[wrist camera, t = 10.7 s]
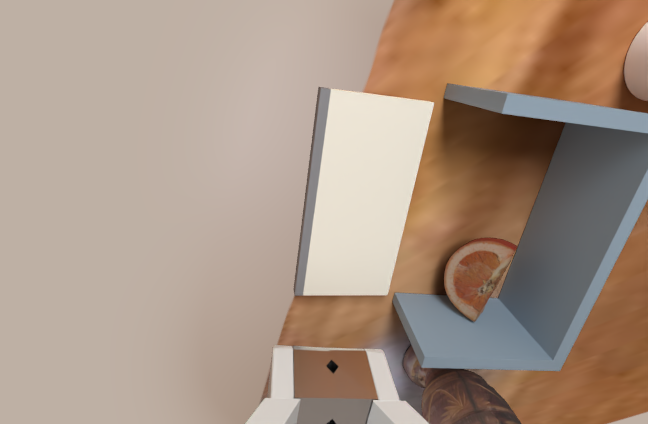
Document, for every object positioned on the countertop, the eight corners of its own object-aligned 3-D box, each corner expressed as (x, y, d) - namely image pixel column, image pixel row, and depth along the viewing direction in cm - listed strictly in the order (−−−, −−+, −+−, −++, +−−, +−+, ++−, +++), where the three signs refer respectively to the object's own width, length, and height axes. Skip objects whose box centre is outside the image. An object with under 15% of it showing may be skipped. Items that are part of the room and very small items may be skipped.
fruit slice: (477, 298, 40) (502, 329, 35) (423, 286, 39) (441, 317, 34) (513, 232, 37) (545, 257, 33) (456, 217, 36) (481, 240, 31)
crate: (447, 83, 30) (507, 93, 22) (585, 103, 32) (688, 119, 24) (392, 301, 39) (421, 367, 31) (504, 307, 41) (559, 370, 33)
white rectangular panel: (428, 101, 31) (318, 86, 29) (434, 102, 30) (320, 88, 28) (384, 289, 38) (293, 289, 36) (387, 295, 37) (294, 295, 35)
